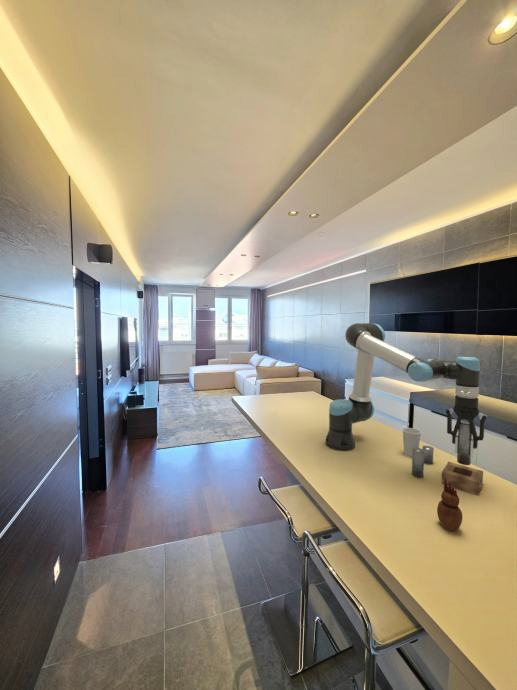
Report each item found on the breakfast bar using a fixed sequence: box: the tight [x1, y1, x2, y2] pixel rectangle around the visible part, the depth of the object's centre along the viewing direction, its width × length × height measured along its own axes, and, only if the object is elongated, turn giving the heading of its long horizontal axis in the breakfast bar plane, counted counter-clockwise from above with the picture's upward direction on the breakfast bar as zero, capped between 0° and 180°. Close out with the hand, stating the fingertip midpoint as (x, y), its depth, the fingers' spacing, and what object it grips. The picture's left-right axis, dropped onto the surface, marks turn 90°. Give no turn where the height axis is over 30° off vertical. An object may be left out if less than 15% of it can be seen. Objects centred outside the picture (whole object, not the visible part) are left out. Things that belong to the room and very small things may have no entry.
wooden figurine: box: [436, 478, 463, 531], centre depth 93 cm, size 7×6×15 cm
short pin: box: [422, 445, 435, 465], centre depth 137 cm, size 4×4×7 cm
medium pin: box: [411, 447, 425, 479], centre depth 125 cm, size 4×4×11 cm
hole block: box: [441, 461, 484, 496], centre depth 118 cm, size 12×12×5 cm
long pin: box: [456, 421, 473, 466], centre depth 117 cm, size 4×4×16 cm
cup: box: [402, 427, 422, 458], centre depth 144 cm, size 8×8×12 cm
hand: (464, 453), depth 118 cm, fingers closed on long pin, 4 cm apart
